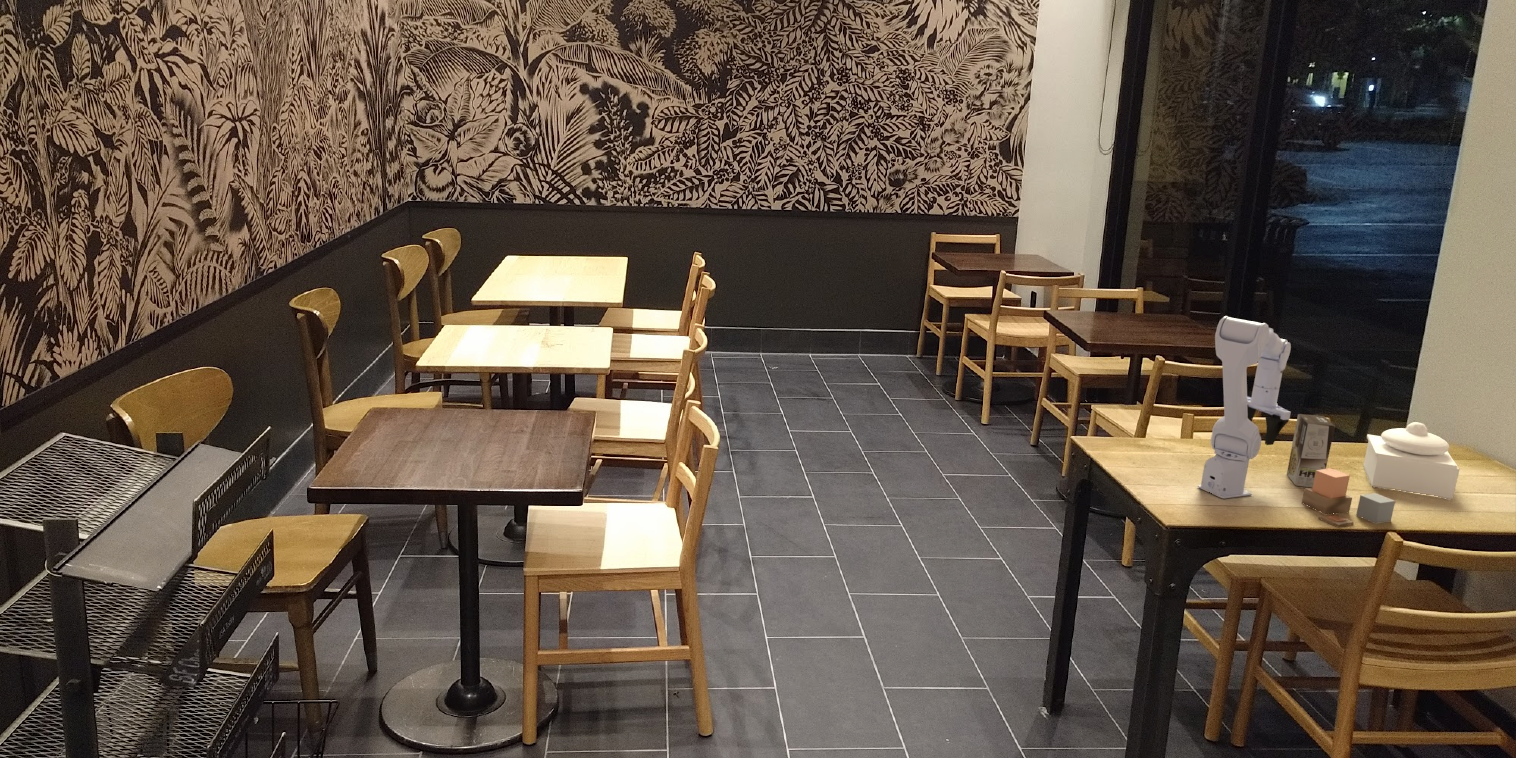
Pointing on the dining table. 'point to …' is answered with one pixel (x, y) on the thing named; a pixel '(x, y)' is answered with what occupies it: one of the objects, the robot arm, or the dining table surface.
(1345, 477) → the terracotta cube
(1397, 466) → the butter dish
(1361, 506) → the slate cube
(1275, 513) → the dining table surface
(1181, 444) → the dining table surface
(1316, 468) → the coffee box
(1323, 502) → the walnut slab
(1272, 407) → the robot arm
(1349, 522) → the tile
